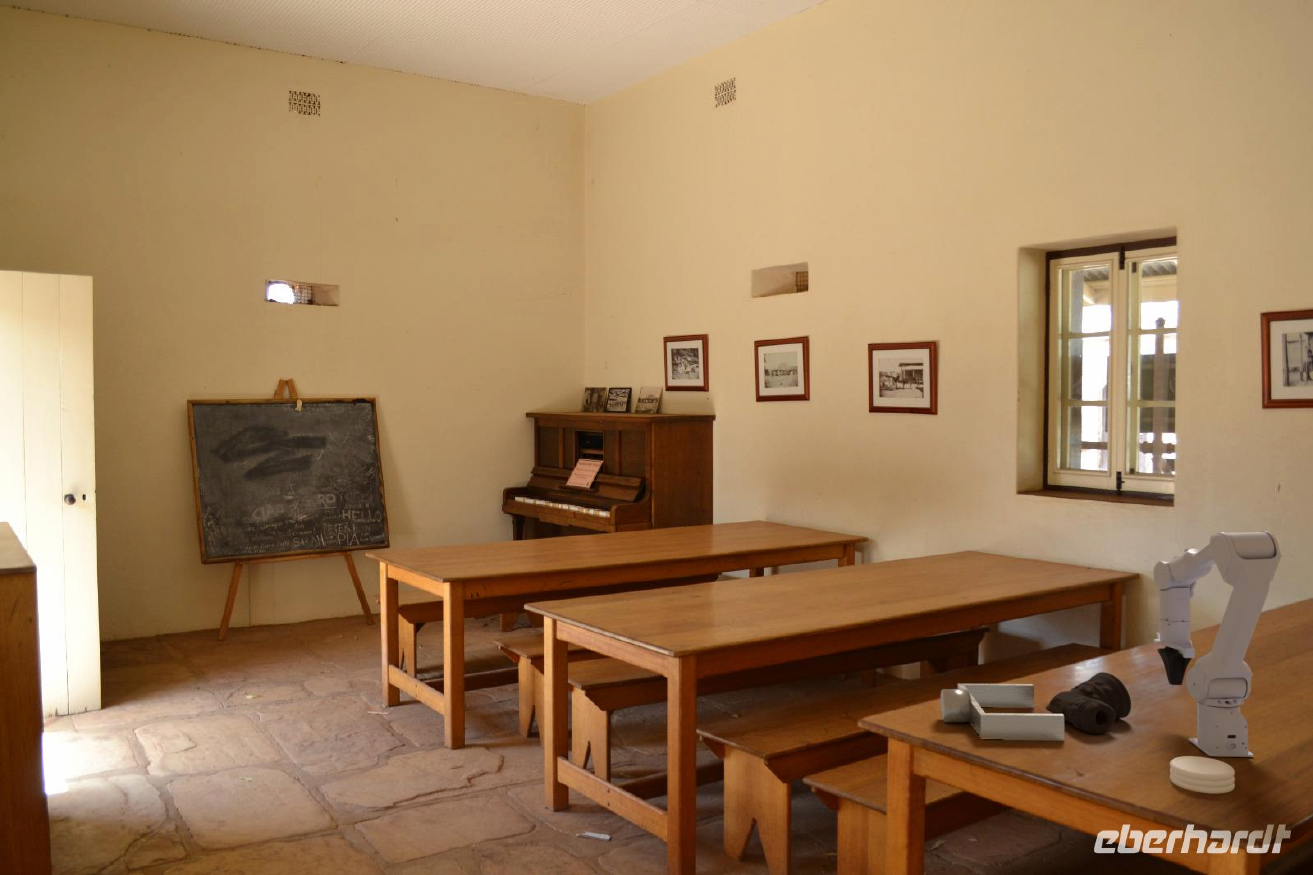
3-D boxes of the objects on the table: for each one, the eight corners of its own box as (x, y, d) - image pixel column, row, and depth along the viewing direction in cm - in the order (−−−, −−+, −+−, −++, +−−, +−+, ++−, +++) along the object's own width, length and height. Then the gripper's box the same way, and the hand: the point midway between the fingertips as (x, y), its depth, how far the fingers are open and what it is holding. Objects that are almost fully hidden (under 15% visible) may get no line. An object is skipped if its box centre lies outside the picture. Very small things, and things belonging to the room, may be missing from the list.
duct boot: (1064, 740, 201) (1064, 706, 201) (954, 739, 203) (953, 705, 203) (1032, 706, 224) (1032, 676, 224) (934, 705, 226) (933, 675, 226)
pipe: (1081, 700, 203) (1141, 680, 207) (1033, 686, 217) (1090, 667, 221) (1091, 748, 203) (1150, 726, 207) (1042, 730, 217) (1099, 711, 221)
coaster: (1208, 772, 183) (1207, 753, 183) (1248, 792, 173) (1248, 772, 173) (1157, 776, 181) (1157, 757, 181) (1195, 797, 172) (1195, 776, 171)
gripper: (1141, 612, 217) (1142, 674, 218) (1168, 626, 203) (1169, 693, 203) (1175, 612, 217) (1176, 675, 217) (1205, 626, 202) (1206, 694, 202)
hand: (1175, 684), depth 210 cm, fingers closed
